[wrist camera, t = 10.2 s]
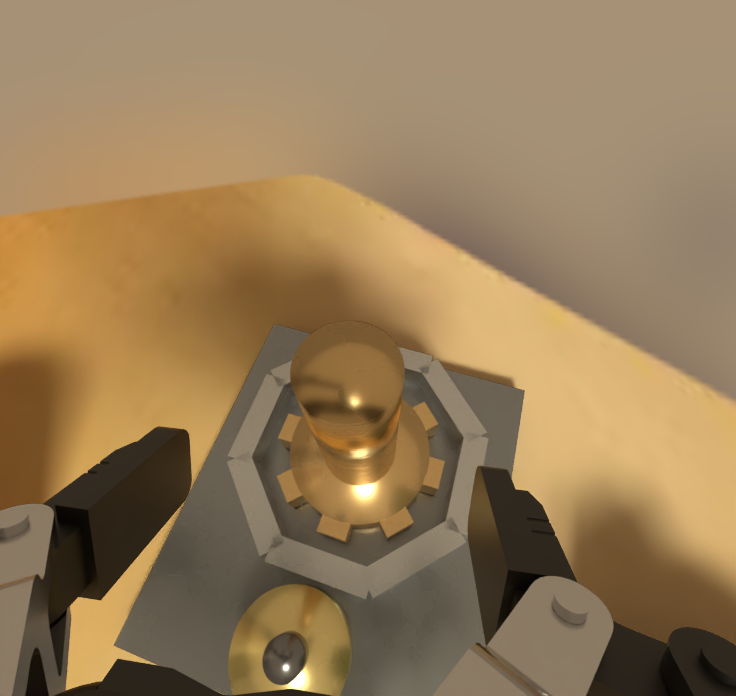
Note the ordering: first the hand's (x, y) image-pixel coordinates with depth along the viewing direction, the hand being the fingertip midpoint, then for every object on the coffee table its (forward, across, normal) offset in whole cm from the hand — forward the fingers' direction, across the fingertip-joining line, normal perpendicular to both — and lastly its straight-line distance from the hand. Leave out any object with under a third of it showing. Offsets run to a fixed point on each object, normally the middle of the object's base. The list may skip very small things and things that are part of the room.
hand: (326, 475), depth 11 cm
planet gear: (+10, 0, +6) cm, 12 cm away
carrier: (+9, 0, +8) cm, 12 cm away
